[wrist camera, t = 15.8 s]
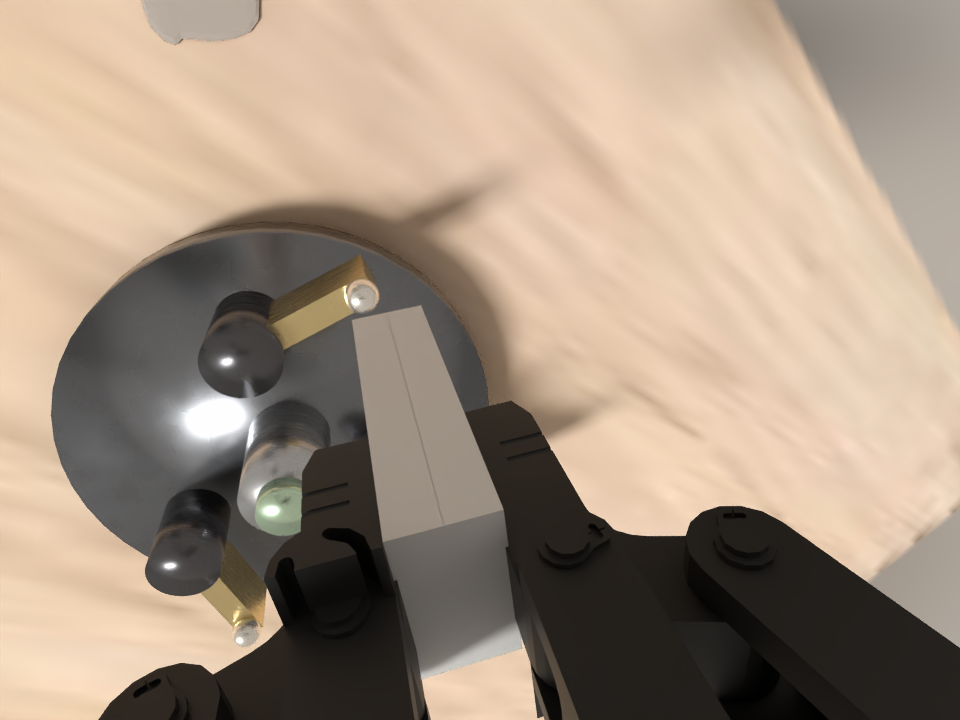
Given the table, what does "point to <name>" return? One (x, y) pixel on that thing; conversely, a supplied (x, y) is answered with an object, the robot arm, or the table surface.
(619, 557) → the robot arm
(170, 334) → the level base
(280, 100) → the table surface
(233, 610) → the knob
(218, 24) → the grey upright bracket
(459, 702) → the table surface
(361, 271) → the knob
